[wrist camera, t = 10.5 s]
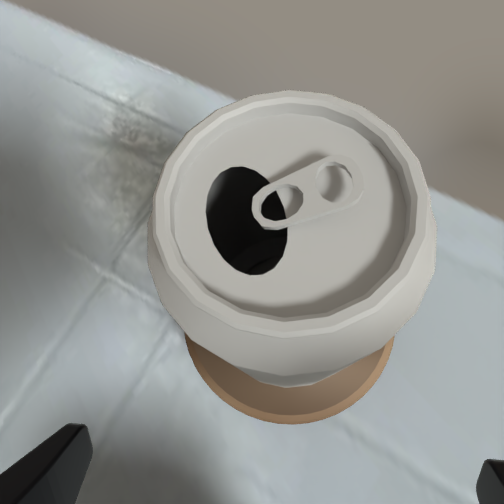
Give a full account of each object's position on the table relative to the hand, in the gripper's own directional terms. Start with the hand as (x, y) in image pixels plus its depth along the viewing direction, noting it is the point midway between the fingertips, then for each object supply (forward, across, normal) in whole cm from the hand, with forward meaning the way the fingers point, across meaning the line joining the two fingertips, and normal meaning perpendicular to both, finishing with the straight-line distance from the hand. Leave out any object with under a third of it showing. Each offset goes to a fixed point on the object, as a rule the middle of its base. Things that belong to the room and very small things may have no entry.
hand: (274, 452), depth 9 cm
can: (+11, 0, +3) cm, 11 cm away
